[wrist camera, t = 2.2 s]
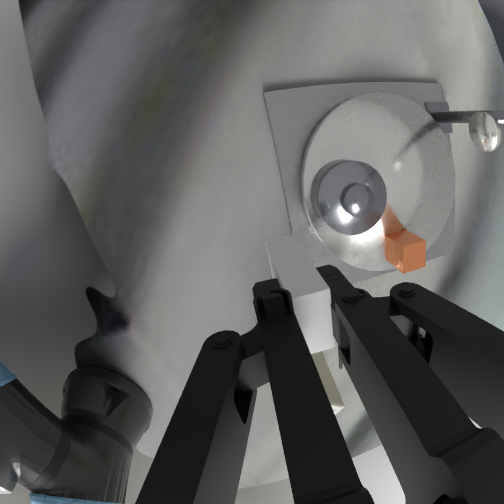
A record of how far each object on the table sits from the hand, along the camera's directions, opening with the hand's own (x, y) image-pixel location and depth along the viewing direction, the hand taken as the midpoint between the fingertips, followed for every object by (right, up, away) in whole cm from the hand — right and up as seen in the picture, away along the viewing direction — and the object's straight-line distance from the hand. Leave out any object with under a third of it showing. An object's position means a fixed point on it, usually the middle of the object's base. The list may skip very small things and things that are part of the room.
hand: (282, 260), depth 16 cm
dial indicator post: (+21, +17, +12) cm, 30 cm away
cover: (+7, +6, +12) cm, 16 cm away
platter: (+13, +8, +14) cm, 21 cm away
